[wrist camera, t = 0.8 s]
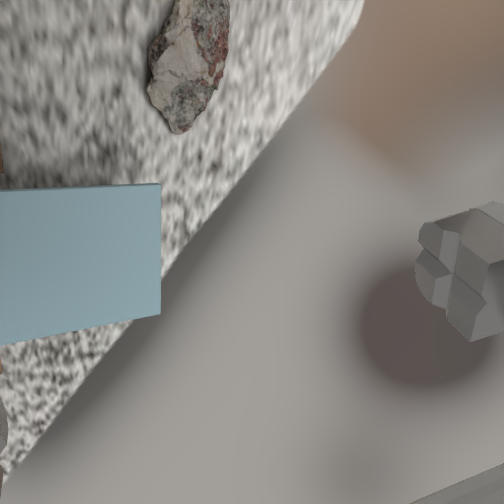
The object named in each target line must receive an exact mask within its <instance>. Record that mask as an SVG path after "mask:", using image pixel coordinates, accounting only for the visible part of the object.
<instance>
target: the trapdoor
mask: <svg viewBox="0 0 504 504" xmlns="http://www.w3.org/2000/svg"><path fill="white" fill-rule="evenodd" d="M160 293H161V185H160V184H158V183H147V184H124V185H100V186H77V187H53V188H30V189H6V190H0V346H1V345H6V344H11V343H16V342H22V341H27V340H32V339H37V338H42V337H47V336H52V335H57V334H62V333H67V332H72V331H77V330H82V329H87V328H92V327H97V326H102V325H107V324H112V323H117V322H122V321H127V320H132V319H137V318H142V317H147V316H152V315H157V314H160V313H161V310H160V309H161V308H160V307H161V306H160V305H161V294H160Z"/></svg>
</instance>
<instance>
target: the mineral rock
mask: <svg viewBox="0 0 504 504" xmlns="http://www.w3.org/2000/svg"><path fill="white" fill-rule="evenodd" d="M229 20H230V5H229V1H228V0H175V4H174V7H173V14H171V15H170V16H168V18H167V19H166V21H165V22H164V25H163V28H162V34H160V35H159V36H158V37H157V38H156V39H155V40H154V42H153V43H152V44H151V45H150V47H149V50H148V62H149V67H150V69H151V71H152V73H153V76H152V77H151V79H150V82H149V84H148V87H147V92H148V94H149V96H150V98H151V99H150V100H151V103H152V105H153V106H154V107H156V108H157V109H158V110H160V111H161V112H162V114H163V116H164V118H165V119H166V120H167V121H168V123H169V125H170V128H171V131H172V132H174V133H175V134H177V135H179V134H182V133H184V132H186V131H187V130H189V128H190V127H192V125H193V123H194V121H195V119H196V117H197V116H198V115H200V113H201V112H202V111H205V109H206V106H207V103H208V102H209V100H210V99H211V97H212V94H213V91H214V90H215V89H216V90H217V89H218V85H219V80H220V79H221V78H222V77H223V69H224V67H225V59H226V57H227V54H228V42H227V41H228V33H229V30H228V28H229Z"/></svg>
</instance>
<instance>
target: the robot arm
mask: <svg viewBox="0 0 504 504" xmlns="http://www.w3.org/2000/svg"><path fill="white" fill-rule="evenodd" d="M418 242H419V243H420V244H421V246H422V247H423V248H424V249H423V250H422V252H421V253H420V255H419V256H418V258H417V259H416V264H415V276H416V280H417V283H418V287H419V288H420V290H421V292H422V293H423V295H424V296H425V297H426V298H427V299H428V300H429V302H431V304H433V305H436V306H439V307H442V308H445V309H446V313H447V319H448V320H449V321H450V322H451V323H452V324H453V325H454V326H455V327H456V328H457V329H458V330H459V331H460V332H461V333H462V334H463V335H464V336H465V337H466V338H467V339H468V340H469V341H470V342H472V341H475V340H478V339H481V338H484V337H487V336H490V335H493V334H496V333H500V332H503V331H504V204H502V203H498V202H489V203H486V204H483V205H480V206H477V207H474V208H471V209H469V210H467V211H463V212H459V213H456V214H453V215H449V216H446V217H442V218H439V219H436V220H433V221H429V222H426V223H424V224H423V226H422V227H421V229H420V233H419V239H418ZM7 438H8V422H7V414H6V410H5V407H4V405H3V402H2V399H1V398H0V453H1V452H2V450H3V449H4V448H5V446H6V445H7ZM3 473H4V469H3V467H2V466H1V465H0V496H1V488H2V481H3ZM409 504H504V463H503V464H501V465H499V466H496V467H494V468H492V469H489V470H487V471H484V472H482V473H480V474H478V475H475V476H473V477H470V478H468V479H466V480H463V481H461V482H458V483H456V484H454V485H451V486H449V487H447V488H444V489H442V490H439V491H437V492H435V493H432V494H430V495H428V496H425V497H423V498H421V499H418V500H416V501H414V502H411V503H409Z"/></svg>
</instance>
